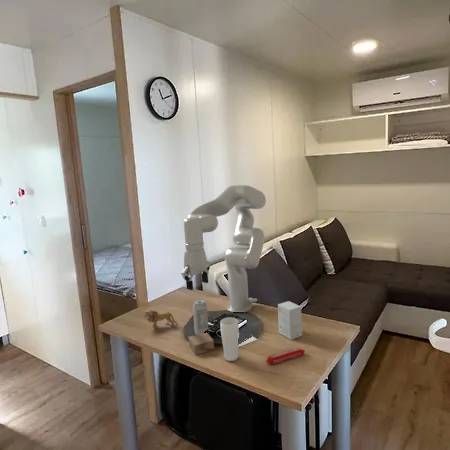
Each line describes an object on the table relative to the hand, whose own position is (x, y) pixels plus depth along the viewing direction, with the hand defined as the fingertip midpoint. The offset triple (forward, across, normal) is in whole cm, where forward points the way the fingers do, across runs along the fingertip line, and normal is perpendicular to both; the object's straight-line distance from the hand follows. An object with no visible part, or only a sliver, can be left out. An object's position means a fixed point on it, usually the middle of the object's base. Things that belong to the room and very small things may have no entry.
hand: (197, 285), depth 155 cm
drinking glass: (+22, +9, +23) cm, 33 cm away
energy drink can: (+22, 0, 0) cm, 22 cm away
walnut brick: (+22, +9, +8) cm, 25 cm away
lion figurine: (+22, +4, -22) cm, 31 cm away
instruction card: (+22, -4, +17) cm, 29 cm away
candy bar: (+23, -1, +40) cm, 46 cm away
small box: (+22, -19, +33) cm, 44 cm away
